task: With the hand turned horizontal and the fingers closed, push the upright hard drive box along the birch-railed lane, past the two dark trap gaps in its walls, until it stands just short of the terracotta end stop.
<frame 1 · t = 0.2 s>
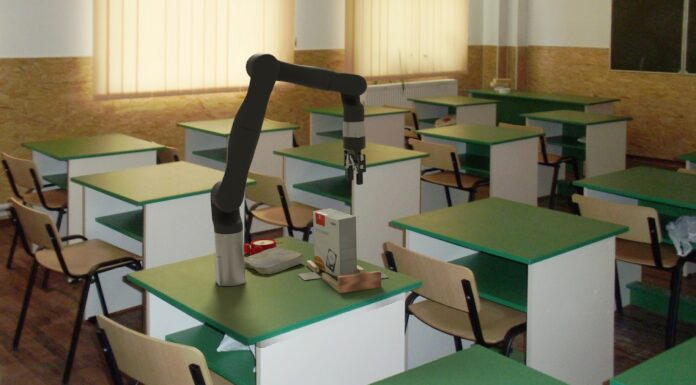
hand: (354, 182, 278), 29 cm above the table, tool pointing down, fingers open, 8 cm apart
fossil: (270, 266, 287), on the table
alarm clock: (260, 254, 302), on the table
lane: (340, 274, 273), on the table
hard drive box: (335, 271, 278), on the table
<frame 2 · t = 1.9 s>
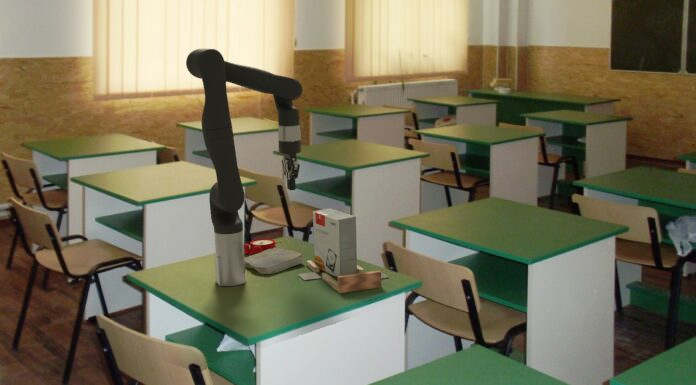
hand: (291, 189, 278), 27 cm above the table, tool pointing down, fingers closed
nothing on the table moved.
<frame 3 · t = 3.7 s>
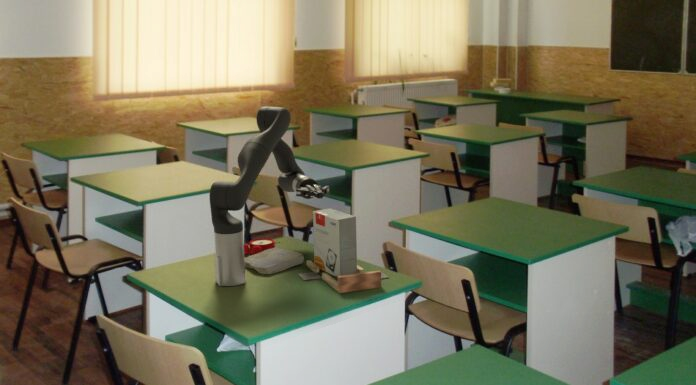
hand: (320, 195, 285), 23 cm above the table, tool horizontal, fingers closed
nothing on the table moved.
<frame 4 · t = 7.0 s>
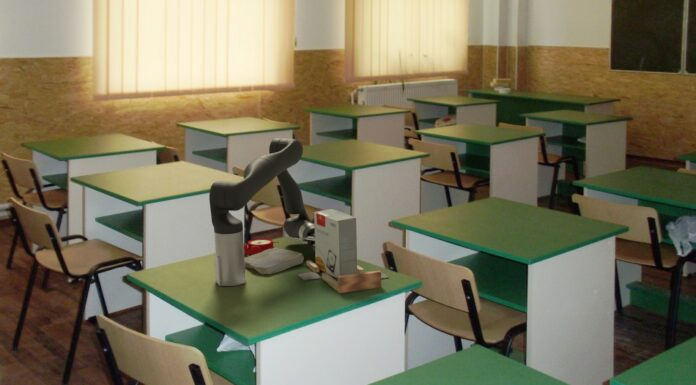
hand: (328, 246, 282), 7 cm above the table, tool horizontal, fingers closed
hard drive box: (336, 272, 276), on the table, touching gripper
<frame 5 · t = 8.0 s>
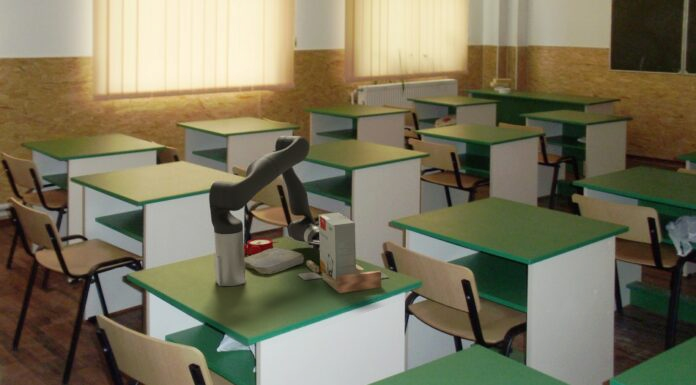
hand: (334, 250, 277), 7 cm above the table, tool horizontal, fingers closed
hard drive box: (338, 277, 271), on the table, touching gripper
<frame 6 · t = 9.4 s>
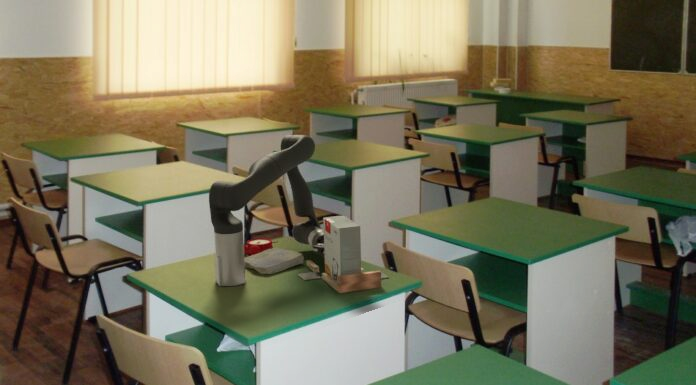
hand: (339, 253, 273), 7 cm above the table, tool horizontal, fingers closed
hard drive box: (343, 281, 267), on the table, touching gripper
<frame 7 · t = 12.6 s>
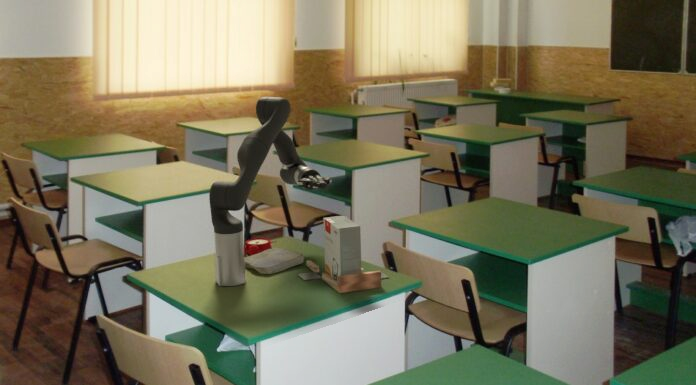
hand: (323, 185, 281), 27 cm above the table, tool horizontal, fingers closed
hard drive box: (343, 281, 266), on the table
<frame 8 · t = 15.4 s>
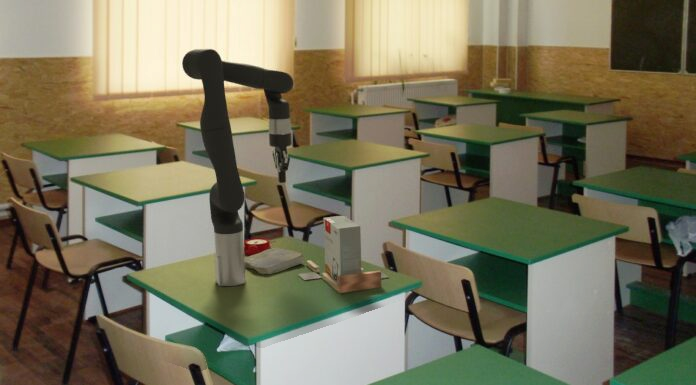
hand: (282, 182, 281), 29 cm above the table, tool pointing down, fingers closed
at the end: hard drive box inside the target area (1.7 cm from its centre), on the table; hard drive box tilted 0° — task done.
